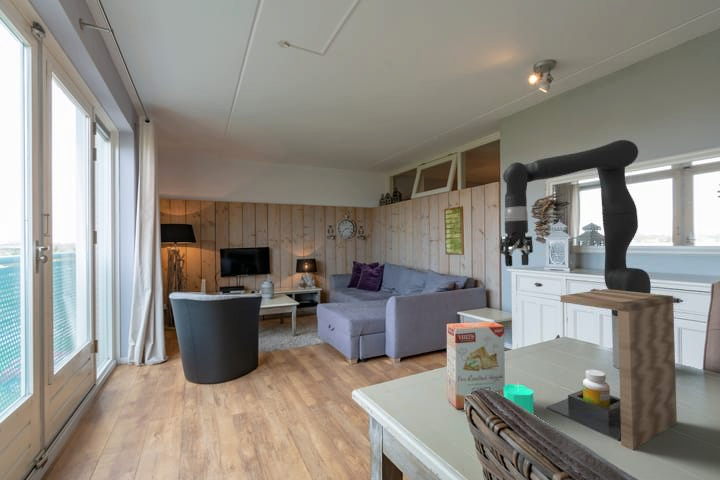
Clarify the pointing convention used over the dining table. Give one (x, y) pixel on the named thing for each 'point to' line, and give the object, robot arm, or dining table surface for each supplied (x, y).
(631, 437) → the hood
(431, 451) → the dining table surface
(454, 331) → the cracker box
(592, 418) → the socket
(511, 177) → the robot arm
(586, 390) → the supplement bottle
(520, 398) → the candle
